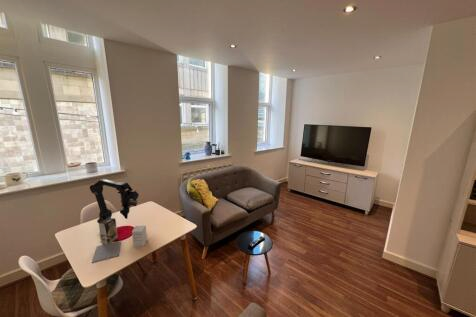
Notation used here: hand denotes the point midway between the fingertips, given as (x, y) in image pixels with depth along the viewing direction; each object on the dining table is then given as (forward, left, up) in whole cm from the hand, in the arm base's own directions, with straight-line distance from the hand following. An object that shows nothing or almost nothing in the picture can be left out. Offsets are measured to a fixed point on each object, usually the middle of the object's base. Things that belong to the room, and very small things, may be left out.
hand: (127, 216), depth 159 cm
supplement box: (+23, +9, -13) cm, 28 cm away
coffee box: (+10, -12, -13) cm, 20 cm away
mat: (+23, -12, -13) cm, 29 cm away
